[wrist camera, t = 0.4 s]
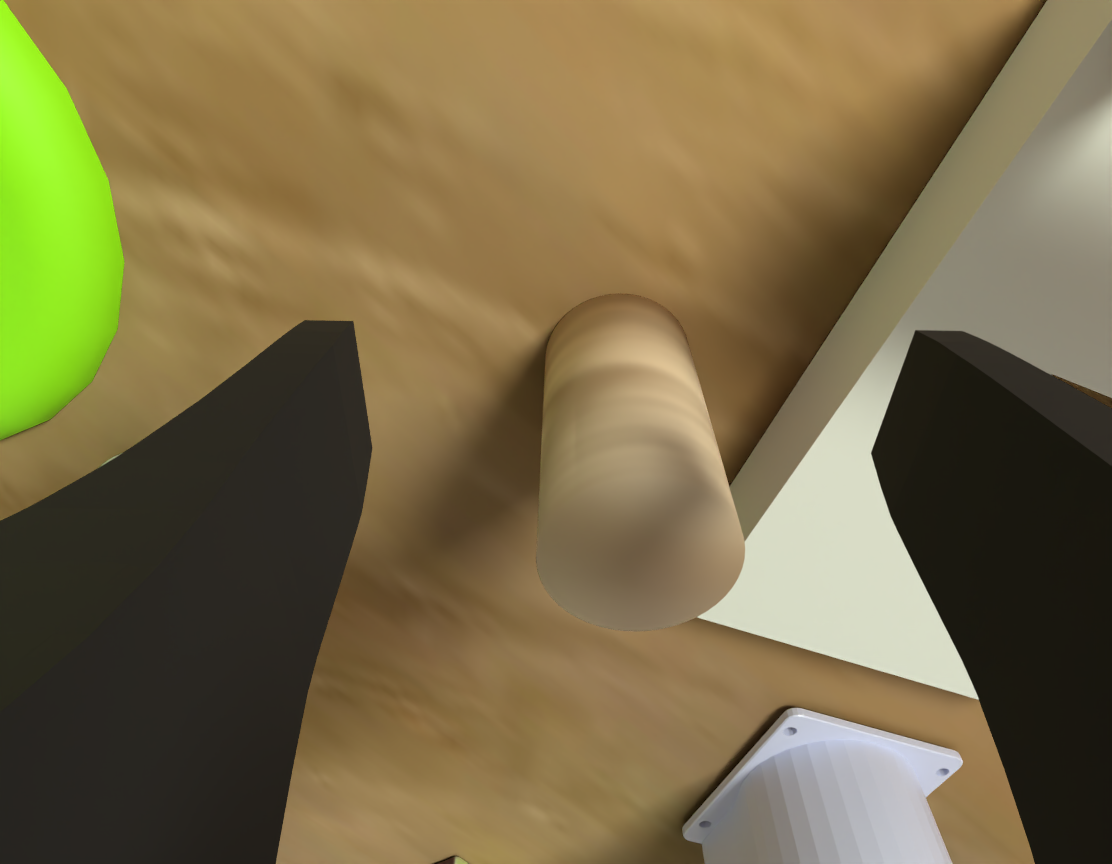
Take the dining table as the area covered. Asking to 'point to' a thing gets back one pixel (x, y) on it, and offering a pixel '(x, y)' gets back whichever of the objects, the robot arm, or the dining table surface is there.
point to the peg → (631, 473)
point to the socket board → (945, 305)
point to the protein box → (454, 861)
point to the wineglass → (49, 241)
